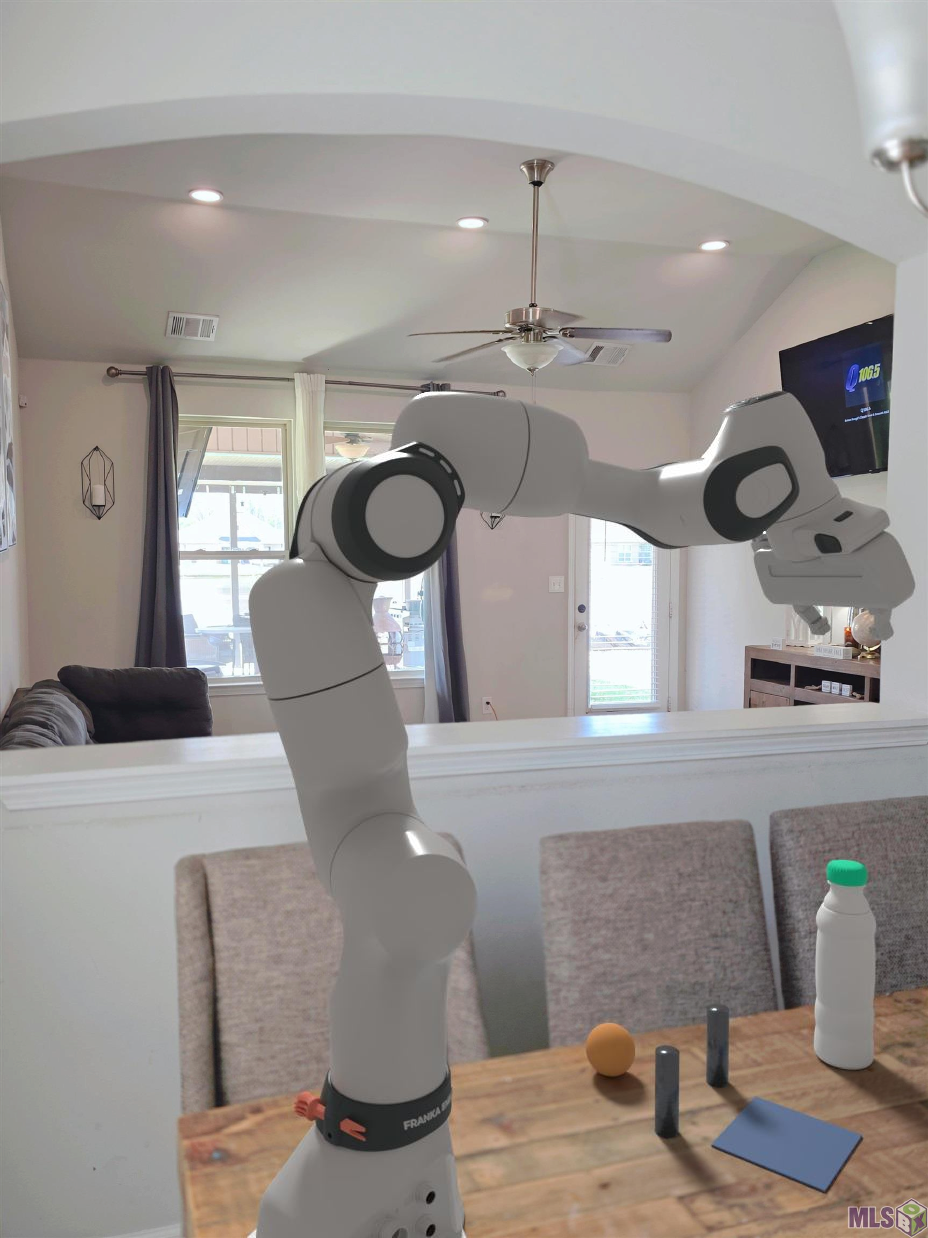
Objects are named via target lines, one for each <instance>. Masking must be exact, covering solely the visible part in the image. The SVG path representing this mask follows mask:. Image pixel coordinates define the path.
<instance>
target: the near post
mask: <svg viewBox="0 0 928 1238" xmlns="http://www.w3.org/2000/svg"><path fill="white" fill-rule="evenodd" d="M654 1052H655V1057H654V1060H655V1061H654V1065H655V1066H654V1132H655V1134H656V1135H658V1136H659V1137H661V1138H665V1139H673V1138H675V1137H677V1136H678V1135H679V1134H680V1133H679V1131H680V1128H679V1127H680V1058H681V1057H680V1050H679V1049H678V1048H676V1047H675V1046H671V1045H666V1044H665V1045H664V1044H663V1045H659V1046H657V1047H656V1048H655V1051H654Z"/></svg>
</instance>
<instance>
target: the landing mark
mask: <svg viewBox="0 0 928 1238" xmlns="http://www.w3.org/2000/svg"><path fill="white" fill-rule="evenodd" d="M862 1137H863V1134H860V1133H858V1132H856V1131H852V1130H850V1129H847V1128H845V1127H841V1126H839V1125H836V1124H833V1123H830V1122H827V1121H826V1120H825V1121H824V1120H822V1119H820V1118H817V1117H814V1116H811V1115H809V1114H805V1113H803V1112H800V1111H797V1110H794V1109H791V1108H789V1107H786V1106H784V1105H780V1104H778V1103H776V1102H773V1101H770V1100H767V1099H765V1098H761V1097H759V1096H754V1097H753V1098H752V1099H751V1100H750V1102H749V1103H748V1104H747V1105H746V1106H745V1107H744V1108H743V1109H742V1110H741V1112H740V1113H739V1114H738V1115H736V1116H735V1118H734V1119H733V1120H732V1121H731V1122H730V1123H729V1124H728V1125H727V1126H726V1128H725V1129H724V1130H723V1131H722V1132H721V1133H720V1134H719V1135H718V1136H717V1138H716V1139H715V1140H714V1141H713V1142H711V1147H713V1148H715V1149H718V1150H720V1151H723V1152H725V1153H728V1154H730V1155H732V1156H734V1157H737V1158H740V1159H742V1160H745V1161H748V1162H750V1163H752V1164H754V1165H757V1166H760V1167H762V1168H764V1169H767V1170H768V1171H771V1172H774V1173H776V1174H779V1175H781V1176H784V1177H787V1178H789V1179H791V1180H793V1181H796V1182H798V1183H800V1184H803V1185H806V1186H808V1187H811V1188H813V1189H816V1190H818V1191H820V1192H823V1193H826V1191H827V1190H828V1189H829V1187H830V1185H831V1184H832V1182H833V1181H834V1180H835V1178H836V1176H837V1175H838V1174H839V1172H840V1171H841V1169H842V1167H843V1166H844V1164H845V1163H846V1162H847V1160H848V1159H849V1157H850V1156H851V1154H852V1152H853V1151H854V1149H855V1148H856V1146H857V1145H858V1143H859V1142H860V1140H861V1139H862Z"/></svg>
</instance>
